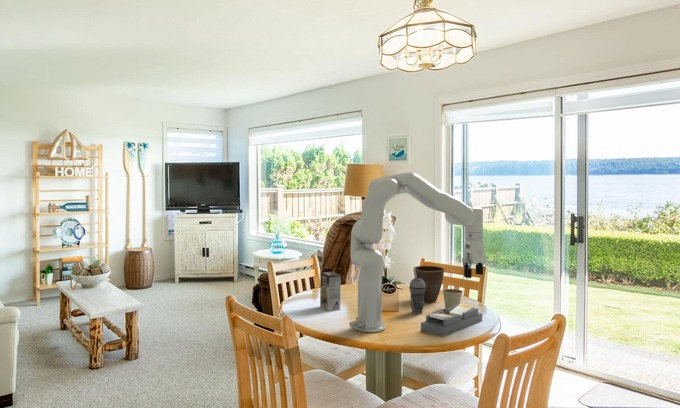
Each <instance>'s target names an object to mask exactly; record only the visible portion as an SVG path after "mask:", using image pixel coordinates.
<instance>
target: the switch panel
mask: <svg viewBox="0 0 680 408" xmlns="http://www.w3.org/2000/svg"><path fill="white" fill-rule="evenodd" d="M457 306H458V305H457ZM457 306H454V307H451V308H448V309H445V308H444V309H445V310H440V311H437V312H436V311H435V312H434V313H432V314H447V315H449V312H450V311H451V310H453V309H454V308H455V307H457ZM474 308H475V309H472V310H469V311H466V312H464V313H462V318H461V315H459V314H458V315H455V316H453V317H450V318H447V319H444V320H441V319H437V318H433V317H430V314H428V315H425V321H422V322H421V323H420V331H421V332H424V333H429V334H433V335H436V336H440V337H445V336H447V335H450V334H453V333H455V332H457V331H460V330H462V329H464V328H467V327H470V326H472V325H474V324H477V323H479V322H482V321H483V313H482V312H479V308H478V307H474ZM444 312H445V313H444ZM451 316H452V315H451Z"/></svg>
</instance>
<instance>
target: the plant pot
mask: <svg viewBox="0 0 680 408" xmlns="http://www.w3.org/2000/svg"><path fill="white" fill-rule="evenodd" d="M412 268H413V274H414V275H413V276H414V277H415V269H414V268H416V276H417V278H421V279H422V280H423V281H424V282H425V286H426V288H425V292H424V303H435V302H437V300H438V297H439V295H440V292H441V289H442V285H443V280H444V275H445V268H444V267H441V266H435V265H418V266H415V267H414V266H413V267H412Z"/></svg>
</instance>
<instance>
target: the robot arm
mask: <svg viewBox="0 0 680 408" xmlns="http://www.w3.org/2000/svg"><path fill="white" fill-rule="evenodd" d="M367 190H368V192H367V194H366V196H365V197H364V200H363V201H362V202H363V203H362V207H361V208H362V209H361V215H360V216H361V217H360V219H359V220H357V221H355V223H354V224H353V226H352V228H351V234H350V235H351V236H350V251H349V252H350V254H349V255H350V260H351V263H352V265H353V266H354V267H356V268H357V269H359V273H358V277H357V317H355V320H354V321H350V322H349V323H348V325H349V327H350V328H353V329H354V330H356V331H359V332H362V333H363V332H364V333H377V332H383V331H385V330H386V324H385V323H384V322H382V321H383V320H382V315H383V313H382V312H383V309H382V307H383V305H382V303H383V275H384V274H383V273H384V268H385V259H384V256H383V254H382V253H381V252H380V251H379V250H378V249H376V248H373V246H374V245H376V244H379V243H380V242H381V241H382V238H383V230H384V229H383V228H384V227H383V226H384V225H383V223H384V212H385V207H386V205H387V203H388V202H389V201H390V200H391V199H392V198H394V197H396V196H397V195H401V194H408V195H409V196H411V197H412V198H414V199H415V200H416V201H418V202H420V203H421V204H423V206H426V207H427V208H429V209H432V210H435V211H438V212H441V213H444V218H445V220H446V222H447V223H449V224H451V225H456V226H462V227H464V245H463V246H464V247H463V257H462V258H461V262H462V267H463V277H464V278H466V279H471V278H472V275H473V273H472V271H473V270H472V266H473V265H475V274H476V275H480V276H481V275H483V274H484V265H485V264H484V262H485V260H486V258H485V256H486V254H485V242H484V236H483V235H484V210H483V208H482V207H480V206H479V207H478V206H469V205H467V204H466V203H464V202H463V201H461V200H459V199H458V198H456V197H455V196H453V195H450V194H448V193H447V192H445V191H443V190H441V189H439V188H437V187H436V186H434V185H433V184H432V183H430V182H429V181H427V180H426V179H425V178H423V177H422V176H420V175H419V174H418V173H415V172H401V173H397V174H392V175H388V176H387V175H386V176H381V177H377V178H373V179H372V180H371V181H370V182H369V184H368V189H367Z"/></svg>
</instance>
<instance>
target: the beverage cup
mask: <svg viewBox="0 0 680 408" xmlns="http://www.w3.org/2000/svg"><path fill="white" fill-rule="evenodd" d="M413 268H414V267H413ZM414 269H415V276H414V278H413V279H412V278H411V281H410V282H409V286H408V287H409V291H410V305H411V313H412V314H415V315H422V314H423V310H424V303H425V302H424V292H425V288H426V286H425V282H424V281H423V280H422V279H421V278H417V276H416V268H414ZM414 269H413V270H414Z"/></svg>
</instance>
